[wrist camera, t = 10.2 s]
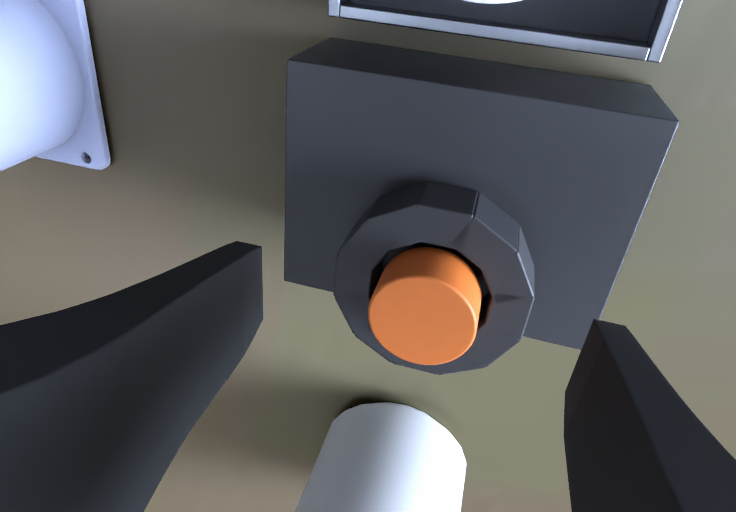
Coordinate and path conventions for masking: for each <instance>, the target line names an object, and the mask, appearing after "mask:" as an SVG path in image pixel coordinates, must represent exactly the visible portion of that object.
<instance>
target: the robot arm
mask: <svg viewBox="0 0 736 512" xmlns="http://www.w3.org/2000/svg"><path fill="white" fill-rule="evenodd" d="M87 154H88V155H89V156H90V158H91V159H89V157H88V156H87ZM32 157H39V158H44V159H49V160H53V161H58V162H63V163H68V164H73V165H77V166H82V167H87V168H92V169H97V170H102V169H104V168H106V167H108V166H109V165H110V154H109V148H108V142H107V136H106V130H105V124H104V118H103V112H102V106H101V101H100V95H99V89H98V83H97V77H96V71H95V65H94V59H93V53H92V47H91V41H90V36H89V30H88V24H87V18H86V12H85V6H84V0H0V171H2V170H4V169H7V168H9V167H11V166H14V165H16V164H18V163H21V162H23V161H25V160H27V159H30V158H32ZM262 320H263V289H262V246H257V245H252V244H248V243H243V242H239V241H236V242H233V243H230V244H227V245H225V246H223V247H220V248H218V249H216V250H213V251H211V252H209V253H207V254H204V255H202V256H200V257H198V258H196V259H193V260H191V261H189V262H187V263H185V264H182V265H180V266H178V267H176V268H173V269H171V270H169V271H167V272H164V273H162V274H160V275H158V276H155V277H153V278H150V279H148V280H145V281H143V282H140V283H138V284H135V285H133V286H130V287H128V288H125V289H123V290H120V291H118V292H115V293H112V294H110V295H107V296H104V297H101V298H98V299H95V300H92V301H89V302H86V303H83V304H80V305H77V306H73V307H70V308H67V309H64V310H60V311H57V312H53V313H49V314H45V315H41V316H37V317H33V318H29V319H24V320H20V321H16V322H12V323H8V324H4V325H0V512H144V510H145V508H146V506H147V505H148V503H149V501H150V499H151V497H152V495H153V493H154V492H155V490H156V488H157V486H158V484H159V482H160V481H161V479H162V477H163V475H164V474H165V472H166V470H167V468H168V467H169V465H170V463H171V461H172V460H173V458H174V456H175V454H176V453H177V451H178V449H179V447H180V446H181V444H182V443H183V441H184V440H185V438H186V437H187V435H188V434H189V432H190V430H191V429H192V428H193V426H194V425H195V423H196V422H197V421H198V419H199V418H200V416H201V415H202V414H203V412H204V411H205V409H206V408H207V407H208V405H209V404H210V403H211V401H212V400H213V398H214V397H215V396H216V394H217V393H218V391H219V390H220V389H221V387H222V386H223V384H224V383H225V382H226V380H227V379H228V377H229V376H230V375H231V373H232V372H233V370H234V369H235V367H236V366H237V365H238V363H239V362H240V360H241V359H242V357H243V356H244V354H245V353H246V351H247V349H248V347H249V345H250V343H251V341H252V340H253V338H254V336H255V334H256V332H257V330H258V328H259V326H260V324H261V322H262ZM564 443H565V453H566V462H567V472H568V481H569V490H570V499H571V508H572V512H736V460H735V459H734V458H733V457H732V456H731V455H730V454H729V453H728V451H727V450H726V449H725V448H724V447H723V446H722V445H721V444H720V443H719V442H718V440H717V439H716V438H715V437H714V436H713V435H712V434H711V433H710V432H709V430H708V429H707V428H706V427H705V426H704V425H703V424H702V423H701V421H700V420H699V419H698V418H697V417H696V416H695V414H694V413H693V412H692V411H691V410H690V408H689V407H688V406H687V405H686V404H685V402H684V401H683V400H682V399H681V398H680V396H679V395H678V394H677V393H676V391H675V390H674V389H673V387H672V386H671V385H670V384H669V382H668V381H667V380H666V379H665V377H664V376H663V375H662V373H661V372H660V371H659V369H658V368H657V367H656V365H655V364H654V363H653V361H652V360H651V359H650V358H649V356H648V355H647V354H646V352H645V351H644V349H643V348H642V347H641V345H640V344H639V343H638V341H637V340H636V339H635V337H634V336H633V335H632V334H631V332H630V331H629V330H628V329H627V327H626V326H624V325H619V324H614V323H610V322H605V321H601V320H596V319H593V322H592V324H591V327H590V329H589V332H588V335H587V337H586V340H585V342H584V345H583V347H582V350H581V353H580V355H579V358H578V360H577V363H576V365H575V368H574V371H573V373H572V376H571V378H570V381H569V383H568V386H567V389H566V391H565V409H564Z"/></svg>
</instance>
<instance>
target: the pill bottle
mask: <svg viewBox="0 0 736 512" xmlns="http://www.w3.org/2000/svg"><path fill="white" fill-rule="evenodd" d="M464 1H468V2H475V3H486V4H500V3H511V2H517V1H521V0H464Z"/></svg>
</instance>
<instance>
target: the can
mask: <svg viewBox="0 0 736 512" xmlns="http://www.w3.org/2000/svg"><path fill="white" fill-rule="evenodd" d="M465 471H466V460H465V457H464V454H463V451H462V448H461V446H460V445H459V444H458V442H457V441H456V440H455V438H454V437H453V436H452V435H451V433H450V432H449V431H448V430H447V429H446V428H444V427H443V426H441V425H440V424H439V423H438V422H437V421H435V420H434V419H433V418H431V417H430V416H429V415H427V414H426V413H424V412H422V411H420V410H417V409H415V408H413V407H410V406H408V405H402V404H397V403H392V402H386V403H373V404H362V405H359V406H356V407H353V408H350V409H348V410H345V411H344V412H343V413H341V414H340V415H339V416H338V417H337V418H336V419H335V420H333V422H332V424H331V427H330V429H329V431H328V434H327V436H326V439H325V441H324V443H323V446H322V448H321V451H320V453H319V455H318V458H317V460H316V463H315V465H314V468H313V470H312V472H311V475H310V477H309V480H308V482H307V484H306V487H305V489H304V492H303V494H302V496H301V499H300V501H299V504H298V506H297V508H296V511H295V512H460V511H461V503H462V495H463V487H464V479H465Z"/></svg>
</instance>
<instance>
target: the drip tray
mask: <svg viewBox="0 0 736 512" xmlns="http://www.w3.org/2000/svg"><path fill="white" fill-rule="evenodd" d="M682 1H683V0H521V1H517V2H511V3H500V4H486V3H475V2H468V1H464V0H329V2H328V16H331V17H340V18H346V19H353V20H360V21H367V22H374V23H381V24H388V25H395V26H402V27H409V28H416V29H423V30H430V31H437V32H444V33H452V34H459V35H466V36H473V37H480V38H487V39H494V40H501V41H508V42H515V43H522V44H529V45H536V46H543V47H550V48H558V49H565V50H572V51H579V52H586V53H593V54H600V55H607V56H614V57H621V58H628V59H635V60H642V61H645V60H647V61H649V62H656V63H659V62H660V61H661V59H662V56H663V53H664V51H665V48H666V45H667V42H668V40H669V37H670V34H671V31H672V29H673V26H674V23H675V20H676V18H677V15H678V12H679V9H680V7H681V4H682Z"/></svg>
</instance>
